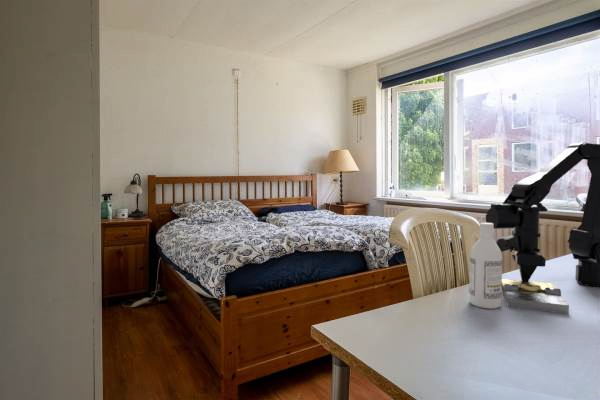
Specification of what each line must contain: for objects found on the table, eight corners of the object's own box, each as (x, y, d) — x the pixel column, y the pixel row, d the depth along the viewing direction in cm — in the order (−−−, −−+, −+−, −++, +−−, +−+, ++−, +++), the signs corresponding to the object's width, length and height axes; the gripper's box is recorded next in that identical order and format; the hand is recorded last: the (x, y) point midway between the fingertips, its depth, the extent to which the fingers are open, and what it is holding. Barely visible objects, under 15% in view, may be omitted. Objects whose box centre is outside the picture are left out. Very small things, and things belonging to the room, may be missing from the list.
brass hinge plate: (551, 290, 99) (551, 279, 98) (559, 301, 90) (560, 289, 90) (500, 285, 103) (500, 274, 103) (504, 295, 95) (504, 283, 95)
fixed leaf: (558, 300, 91) (558, 287, 91) (568, 313, 83) (569, 300, 82) (503, 294, 96) (504, 282, 96) (508, 306, 87) (508, 293, 87)
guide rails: (550, 286, 102) (550, 283, 102) (561, 299, 91) (561, 296, 91) (495, 280, 107) (495, 278, 107) (499, 293, 97) (500, 290, 97)
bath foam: (505, 304, 89) (508, 223, 87) (493, 311, 85) (495, 226, 83) (477, 297, 94) (478, 220, 93) (464, 303, 90) (465, 223, 88)
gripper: (490, 221, 112) (489, 271, 113) (496, 231, 95) (494, 290, 96) (533, 223, 108) (531, 275, 109) (547, 234, 91) (544, 295, 92)
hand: (524, 283), depth 102 cm, fingers closed
